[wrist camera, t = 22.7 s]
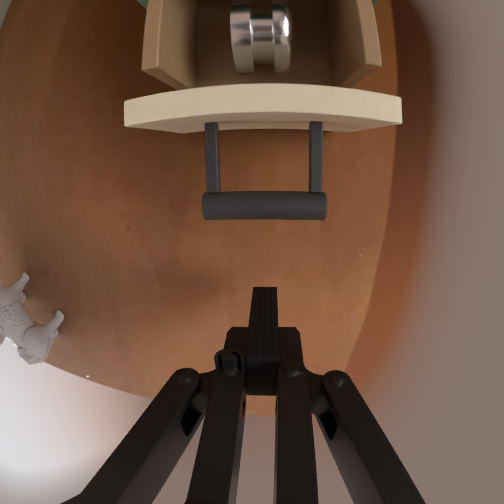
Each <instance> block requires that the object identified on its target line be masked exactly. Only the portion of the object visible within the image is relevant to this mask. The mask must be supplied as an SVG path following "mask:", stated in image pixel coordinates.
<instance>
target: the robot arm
mask: <svg viewBox="0 0 504 504" xmlns="http://www.w3.org/2000/svg"><path fill="white" fill-rule="evenodd" d="M214 360H215V366H216V369H215V370H213V371H211V372H207V373H200V374H199V373H198V372H197V371H196V370H194V369H192V368H182V369H179V370H177V371H176V372H175V373H173V375H172V376H171V377H170V379H169V380H168V381H167V383H166V384H165V385H164V387H163V388H162V389H161V390H160V392H159V393H158V394H157V396H156V397H155V398H154V400H153V401H152V402H151V404H150V405H149V406H148V408H147V409H146V410H145V411H144V413H143V414H142V415H141V417H140V418H139V419H138V421H137V422H136V423H135V425H134V426H133V427H132V428H131V430H130V431H129V432H128V434H127V435H126V436H125V437H124V439H123V440H122V441H121V443H120V444H119V445H118V446H117V448H116V449H115V450H114V452H113V453H112V455H110V457H109V458H108V459H107V461H106V462H105V463H104V464H103V466H102V467H101V468H100V469H99V471H98V472H97V473H96V475H95V476H94V477H93V478H92V480H91V481H90V482H89V484H88V485H87V486H86V488H85V489H84V490H83V491H82V492H81V494H79V495H77V496H75V497H73V498H71V499H69V500H67V501H65V502H63V503H61V504H152V502H153V501H154V499H155V498H156V496H157V495H158V493H159V491H160V490H161V488H162V487H163V485H164V483H165V482H166V480H167V479H168V477H169V475H170V473H171V472H172V471H173V469H174V467H175V466H176V464H177V462H178V460H179V459H180V457H181V456H182V454H183V452H184V451H185V449H186V447H187V445H188V444H189V442H190V440H191V439H192V437H193V435H194V433H195V432H196V430H197V428H198V427H199V425H200V423H201V421H202V419H203V418H204V416H205V419H204V424H203V428H202V432H201V437H200V441H199V446H198V450H197V455H196V459H195V464H194V468H193V473H192V477H191V482H190V486H189V491H188V495H187V499H186V502H185V504H236V495H237V486H238V476H239V468H240V457H241V448H242V439H243V429H244V420H245V411H246V395H266V396H276V407H275V412H276V422H275V423H276V425H275V426H276V427H275V469H274V499H273V504H318V489H317V473H316V462H315V461H316V460H315V448H314V436H313V425H312V415H311V413H312V414H315V417H316V419H317V421H318V424H319V426H320V428H321V430H322V433H323V435H324V437H325V440H326V442H327V444H328V446H329V449H330V451H331V453H332V455H333V458H334V460H335V462H336V465H337V467H338V469H339V471H340V474H341V476H342V478H343V480H344V483H345V485H346V487H347V489H348V492H349V494H350V496H351V498H352V500H353V503H354V504H426V503H425V502H424V500H423V498H422V497H421V495H420V493H419V491H418V490H417V488H416V486H415V484H414V483H413V481H412V479H411V477H410V476H409V474H408V472H407V471H406V469H405V467H404V466H403V464H402V463H401V461H400V459H399V457H398V455H397V454H396V452H395V451H394V449H393V447H392V445H391V444H390V442H389V441H388V439H387V437H386V435H385V434H384V432H383V431H382V429H381V427H380V426H379V424H378V423H377V421H376V419H375V417H374V416H373V414H372V413H371V411H370V410H369V408H368V406H367V405H366V403H365V401H364V400H363V398H362V396H361V395H360V393H359V391H358V390H357V388H356V386H355V385H354V383H353V382H352V380H351V378H350V377H349V376H348V375H347V374H346V373H344V372H342V371H338V370H333V371H329V372H327V373H326V374H325V375H324V376H323V375H318V374H314V373H312V372H310V371H308V370H307V369H306V368H305V366H304V363H303V355H302V347H301V339H300V332H299V331H298V330H297V329H296V327H278V306H277V287H253V294H252V302H251V310H250V318H249V326H248V327H232V328H231V329H230V330H229V331H228V332H227V336H226V340H225V345H224V349H223V350H220V351H218V352H217V353H216V354H215V356H214ZM205 414H206V415H205Z"/></svg>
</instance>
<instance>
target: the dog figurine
mask: <svg viewBox="0 0 504 504" xmlns="http://www.w3.org/2000/svg"><path fill="white" fill-rule="evenodd" d="M27 282H29V276H28V275H27V273H25V272H24V273H23V274H22V277H21V279H20V280H18V281H17V282H16V283H14V284H13V285H11V286H0V345H1V344H2V343H3V341H4V339H5V338H6V339H7V340H9V341H10V342H11V343H12V344H13V345H14V346H15V347H16V348H17V349H18V350H17V351H18V354H19V356H20V357H21V358H22V359H23V360H24V361H25V362H26V363H27V364H36V363H41V362H43V361H45V360H46V359H47V357H48V354H49V350H50V347H51V346H52V343H53V342H54V341H55V339H56V338H57V336H58V330H57V328H58V327H59V325H60V324H61V323H62V321H63V320H64V315H63V314H62V312H60V311H59V310H57V312H56V315H55V317H54V318H53V319H52V320H51V321H50V322H48V323H47V324H45V325H40V324H37V323H36V322H34V321H33V320H32V319H31V317H30V315H29V314H28V312H27V311H26V309H25V308H24V306H23V302H24V301H25V300H26V295H25V294H24V293H23V292H22V291H23V288H24V286H25V284H26V283H27Z"/></svg>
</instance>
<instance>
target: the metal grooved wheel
mask: <svg viewBox="0 0 504 504" xmlns="http://www.w3.org/2000/svg"><path fill="white" fill-rule="evenodd" d="M230 29H231V42H232V51H233V58H234V64H235V69H236V72H237V75H238V76H249V75H256V64H273V71H274V75H283V74H286V73H288V72H289V71H290V70H291V68H292V66H293V61H294V20H293V13H292V8H291V5H290V3H289V2H288V1H287V0H270V7H258V8H253V5H252V0H231V6H230Z"/></svg>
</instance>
